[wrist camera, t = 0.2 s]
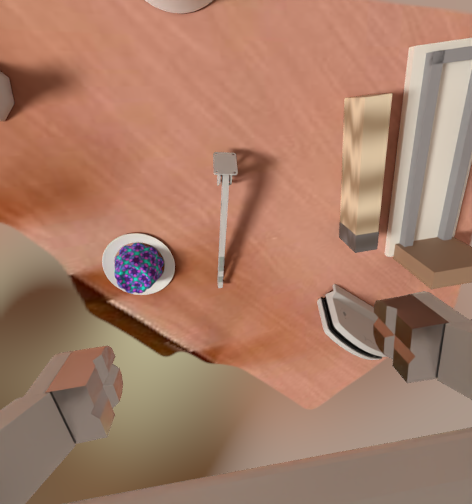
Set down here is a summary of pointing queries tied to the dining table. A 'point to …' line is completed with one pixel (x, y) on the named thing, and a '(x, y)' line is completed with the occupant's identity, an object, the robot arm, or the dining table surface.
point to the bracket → (223, 199)
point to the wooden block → (363, 168)
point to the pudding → (138, 264)
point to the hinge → (349, 323)
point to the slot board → (433, 165)
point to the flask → (5, 97)
